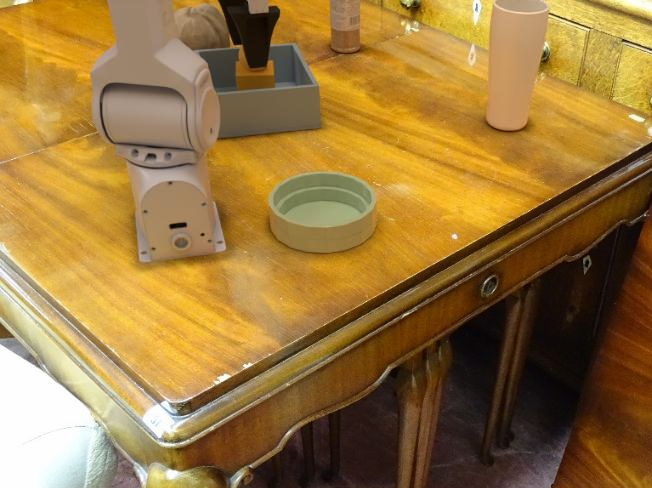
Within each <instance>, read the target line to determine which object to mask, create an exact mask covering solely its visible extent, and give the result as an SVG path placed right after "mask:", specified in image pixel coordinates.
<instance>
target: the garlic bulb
mask: <svg viewBox="0 0 652 488" xmlns="http://www.w3.org/2000/svg"><path fill="white" fill-rule="evenodd" d="M173 13H174V19H175V26H176V32H177V37H178V39H179V40H180V41H181V42H183V43H184V44H185V45H186V46H187V47H189V48H190V49H191V50H193V51H194V50H204V49H218V48H231V37H230V34H229V31H228V27H227V24H226V20H225V17H224V14H223V12H222V11H221V10H220V9H219V8H217V7H216V6H215V5H213V4H209V3H206V2H204V3H201V4H199V5H197V6H189V7H188V6H187V7H180V8H179V9H178V10H176V11H174V12H173Z"/></svg>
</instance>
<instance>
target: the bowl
mask: <svg viewBox="0 0 652 488" xmlns="http://www.w3.org/2000/svg"><path fill="white" fill-rule="evenodd" d="M267 199H268V205H267V206H268V215H269V223H270V224H269V225H270V231H271V233H272V234H273V236H274V237H275V238H276V240H277V241H278V242H281V244H283V245H285V246H287V247H288V248H290V249H294V250H298V251H301V252H304V253H315V254H316V253H317V254H332V253H339V252H345V251H347V250H351V249H353V248H355V247H357V246H360V245H362V244H364V242H366V241H367V240H369V238H371V237H372V236H373V235H374V232H375V230H376V227H377V224H378V223H377V220H378V219H377V212H378V211H377V210H378V200H377V195H376V191H375V190H374V188H372V187H371V185H370V184H369V183H368V182H367V181H364V180H363V179H361V178H359V177H357V176H355V175H353V174H352V175H351V174H347V173H343V172H339V171H325V170H318V171H310V172H302V173H299V174H295V175H292V176H290V177H286V178H285V179H284V180H282V181H280V182H278V183H277V184H275V185H274V187H273V188H272V189H271V191H270V192H269V193H268V196H267Z"/></svg>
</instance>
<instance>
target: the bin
mask: <svg viewBox="0 0 652 488" xmlns="http://www.w3.org/2000/svg"><path fill="white" fill-rule="evenodd" d="M240 48H241V46H234V47H230V48H218V49H204V50H194V52H195V53H196V54H198V55H199V56H200V57H201V58H202V59H204V60H205V61H206V62H207V64H208V69H209V71H210V74H211V79H212V83H213V87H214V90H215V91H216V93H217V96H218V99H219V104H220V128H219V134H218V137H217V140H218V139H226V138H227V139H228V138H237V137H247V136H258V135H265V134H276V133H286V132H287V133H288V132H297V131H306V130H307V131H308V130H316V129H317V130H318V129H321V128H322V125H321V123H322V121H321V100H320V99H321V98H320V97H321V96H320V85H319V83H318V81H317V80H316V77H315V76H314V74H313V72H312V71H311V70H312V69H311V68H310V66H309V65H308V63H307V61H306V59H305V57H304V56H303V54H302V52H301V50H300V48H299V46H298V45H297V43H296V42H290V43H277V44H276V43H275V44H270V50H269V59H268V61H270V60H272V61H273V67H274V79H275V88H266V89H254V90H242V91H237V83H236V61H239V50H240Z"/></svg>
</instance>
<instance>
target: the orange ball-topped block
mask: <svg viewBox="0 0 652 488" xmlns="http://www.w3.org/2000/svg"><path fill="white" fill-rule="evenodd" d="M240 47H241V48H240V50H239V61H236V83H237V91H242V90H254V89H266V88H275V79H274V67H273V61H272V60H270V61H268V63H267V67H261V68H252V69H251V68H249V66H248V64H247V61H246V58H245V54H244V50H243V46H242V45H240ZM268 59H269V58H268Z"/></svg>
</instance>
